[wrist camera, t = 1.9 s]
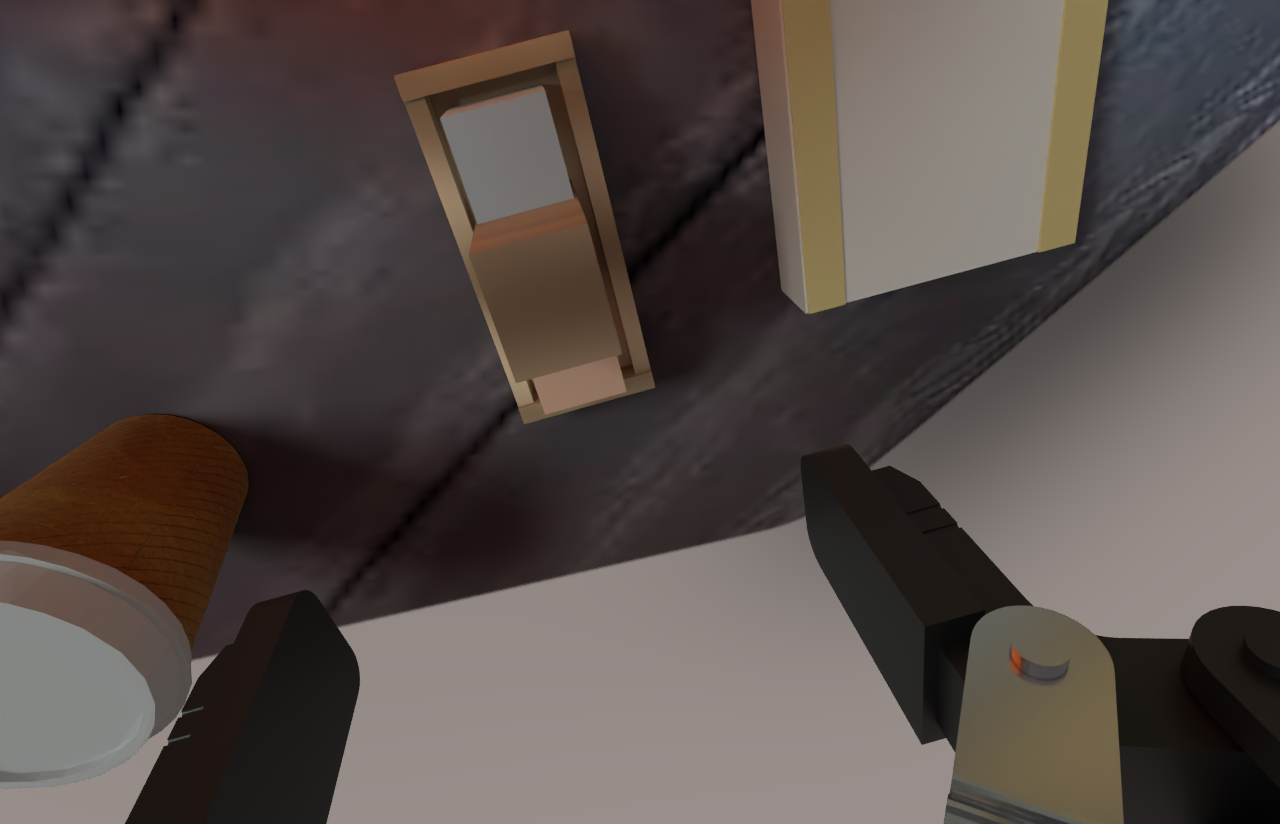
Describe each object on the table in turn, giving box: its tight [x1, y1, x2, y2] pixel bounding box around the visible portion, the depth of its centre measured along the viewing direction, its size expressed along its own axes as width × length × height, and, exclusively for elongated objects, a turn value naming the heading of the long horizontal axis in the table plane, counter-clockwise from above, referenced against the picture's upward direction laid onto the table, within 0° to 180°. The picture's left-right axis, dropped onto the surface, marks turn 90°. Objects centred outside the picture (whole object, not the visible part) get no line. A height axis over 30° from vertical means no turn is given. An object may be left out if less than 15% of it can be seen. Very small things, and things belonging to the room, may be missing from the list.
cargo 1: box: [440, 84, 574, 224], centre depth 23 cm, size 3×3×3 cm
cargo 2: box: [533, 356, 627, 415], centre depth 27 cm, size 3×3×3 cm
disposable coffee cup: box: [0, 414, 249, 789], centre depth 25 cm, size 10×10×12 cm
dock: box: [751, 0, 1108, 314], centre depth 26 cm, size 12×12×3 cm
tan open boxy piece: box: [393, 30, 655, 424], centre depth 24 cm, size 14×6×8 cm, turn 13°
